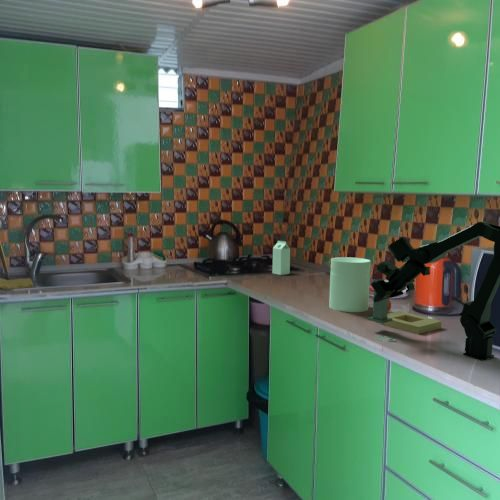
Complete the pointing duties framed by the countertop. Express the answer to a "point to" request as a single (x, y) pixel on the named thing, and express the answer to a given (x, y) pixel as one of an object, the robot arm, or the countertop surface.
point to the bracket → (380, 311)
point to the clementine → (388, 305)
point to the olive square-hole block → (412, 322)
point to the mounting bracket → (385, 338)
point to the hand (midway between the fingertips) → (377, 300)
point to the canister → (349, 284)
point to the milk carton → (281, 258)
